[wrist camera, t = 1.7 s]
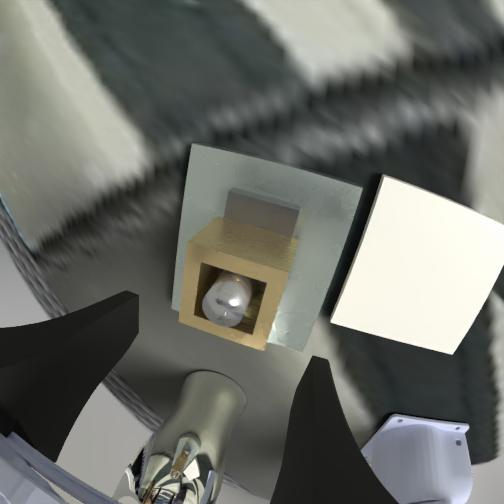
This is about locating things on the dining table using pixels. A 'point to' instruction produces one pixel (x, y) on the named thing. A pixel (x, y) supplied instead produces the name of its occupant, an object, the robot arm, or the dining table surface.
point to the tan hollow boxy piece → (241, 262)
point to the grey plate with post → (271, 219)
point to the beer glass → (186, 446)
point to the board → (420, 268)
